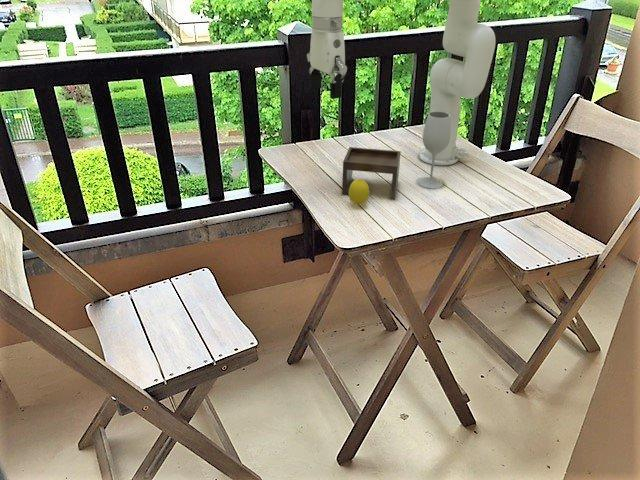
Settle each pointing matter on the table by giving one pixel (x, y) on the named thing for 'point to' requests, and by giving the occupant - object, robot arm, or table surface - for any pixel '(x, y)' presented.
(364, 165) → the shelf
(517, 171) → the table surface
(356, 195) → the lemon
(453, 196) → the table surface
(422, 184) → the wineglass
